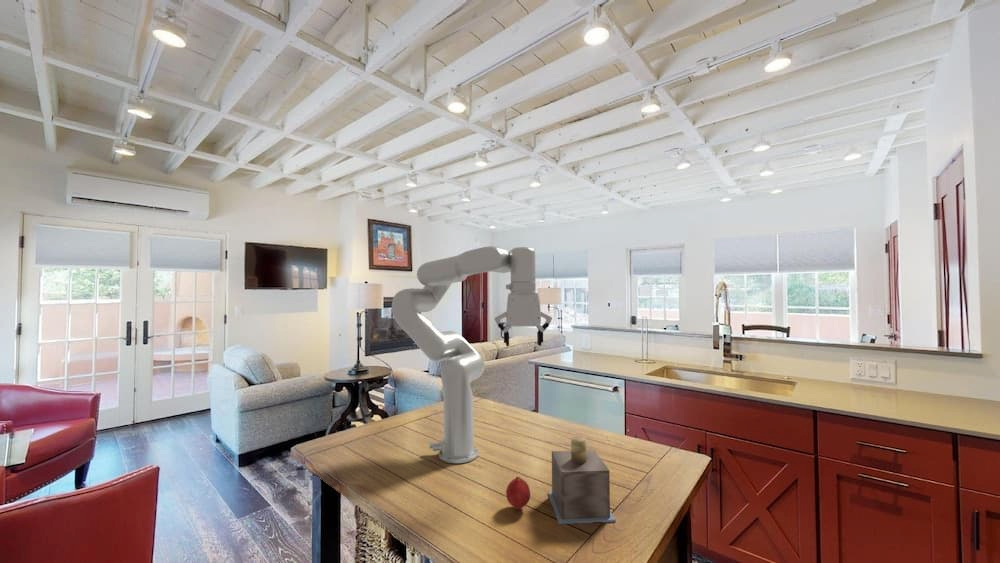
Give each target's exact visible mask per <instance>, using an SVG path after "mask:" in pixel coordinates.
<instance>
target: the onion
mask: <svg viewBox="0 0 1000 563" xmlns="http://www.w3.org/2000/svg"><path fill="white" fill-rule="evenodd" d="M505 491H506V492H505V494H506V495H505V496H506V499H507V500H506V501H507V502H508V503H509V504H510V506H512V507H513V508H515V510H517V511H519V510H522V509H523V507H525V506H526V505H527V504H528V503H529V501H530V498H531V490H530V487H529V484H528V483H527V482H526V481H525V480H524V479H522V477H521V476H520V475H516V477H515V478H514V479H512V480H511V481H510V482H509V483H508V485H507V487H506V490H505Z"/></svg>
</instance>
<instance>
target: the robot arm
mask: <svg viewBox="0 0 1000 563" xmlns="http://www.w3.org/2000/svg"><path fill="white" fill-rule="evenodd" d="M488 272H490V273H491V272H492V273H493V272H494V273H499V274H500V273H501V274H504V273H505V274H506V273H510V283H508V284H506V285H505V289H506V290H509V291H510V292H508V295H507V302H506V311H505V312H503V313H501V314H499V315H497V316H495V317H494V320H495V321H494V322H496V325H497V327H498V328H499V329H500V330H501V331H502V332H503V344H505V346H506V347H509V346H510V332H509V330H510V328H512V327H536V329H538V330H537V333H536V334H537V337H536V338H537V339H536V340H537V341H536V342H537V345H538V346H539V347H541V346H542V344H543V343H544V332H545V331H546V330H547V329H548V327H550V324H551V321H552V320H553V317H552V316H551V315H548V314H546V313H545V312H542V311H541V301H540V295H539V292H536V290H537V289H536V251H535V249H534V248H532V247H527V246H519V247H513V248H512V249H507V248H506V249H505V248H501V247H498V246H492V245H491V246H489V245H488V246H483V247H479V248H473V249H470V250H467V251H464V252H462V253H460V254H458V255H454V256H450V257H446V258H441V259H436V260H432V261H428V262H424V263H423V264H421V265H420V266H419V267H418V269H417V271H416V277H417V280H418V282H419V283H420V284H422V285H423V288H416V287H415V288H413V287H412V288H405V289H402V290H399V291H398V292H396V293H395V295H394V296H393V298H392V302H391V311H392V313H391V314H392V316H393V319H394V321H395V322H396V324H397V325H398V326H399V327H400V328H401V329H402V330H403V331H404V332H405V334H407V335H408V337H410V339H411V340H412V341H413V342H414V344H415V345H416V346H417V347H418V348H419V349H420V350H421V351H422V352H423V354H424V355H425V356H426V357H427V358H428V359H429V360H430V361H432V362H434V363H436V362H437V363H439V362H443V361H445V362H444V363H443V364H442V367H441V370H440V378H441V379H440V380H441V384H442V392H443V394H442V395H443V439H442V440H440V441H439V442H437V441H430V442H429V449H432V451H433V452H438V451H439V452H438V458H439V459H440V460H441V462H442V461H443V462H444V463H449V464H464V463H465V464H466V463H468V462H471V461H473V460H475V459H476V458H478V456H479V449H478V448H477V447H476V446H475V445H474V395H473V391H472V387H471V382H475V381H476V380H477V379H479V378H480V377H482V376H483V373H484V371H485V362H484V360H483V357H482V356H481V355H480V354H479V352H477V351H476V349H475V348H474V347H473V346H472V345H471V344H470V343H469V342H468V341H467V340H466V339H465V338H464V337H463V336H462V335H461V334H459V333H457V332H456V331H452V330H447V331H441V330H439V329H438V328H437V327H436V326H435V325H434V324H433V322H431V320H429V319H428V318H427V317H425V316H424V315H422V313H427V312H431V311H432V310H434V309H435V308H436V307H437V305H438V304H439V303H440V302H441V300H442V299H443V297H444V296H445V295H446V293H447V292H448V290H449V289H450V287H451V285H452V284H454V283H460V282H464V281H465V280H467V277H469V276H472V275H473V276H474V275H478V274H482V273H488ZM504 318H506V324H505V326H504V325H503V324H502V322H501V320H502V319H504ZM542 318H543V319H544V320H545V321H544V323H543V324H542ZM541 324H542V325H541Z"/></svg>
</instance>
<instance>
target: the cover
mask: <svg viewBox="0 0 1000 563" xmlns="http://www.w3.org/2000/svg"><path fill="white" fill-rule="evenodd" d="M570 440H571V441H570V443H571V444H570V446H571V448H570V450H558V451H557V450H555V451H554V450H552V451H551V491H552V494H553V497H554V500H555V502H556V505H557V508H558V511H559V513H560V516H561V519H584V518H610V511H611V499H610V498H611V496H610V494H611V493H610V490H611V489H610V482H611V481H610V469H609V468H608V466H607V465H606V464H605V462H604V461H603V460H602V458H601V457H600V455H599V454H598V453H597V452H596V450H594V449H591V450H589V449H587V439H586V438H584V437H582V436H573V437H571V438H570Z"/></svg>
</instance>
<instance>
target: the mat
mask: <svg viewBox="0 0 1000 563" xmlns="http://www.w3.org/2000/svg"><path fill="white" fill-rule="evenodd" d="M547 494H548V496H549V499H550V500H549V501H550V503H551V505H552V509H553V511H554V514H555V516H556V520H557V522H558V525H569V524H572V525H573V524H574V523H575V524H576V523H577V524H594V523H593V522H602V523H616V517H615V516H614V514H613V513H612V512H611V510H610V518H584V519H561V516H560V513H559V511H558V508H557V505H556V502H555V500H554V497H553V494H552V490H549V491H548V493H547ZM575 524H574V525H575Z"/></svg>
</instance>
